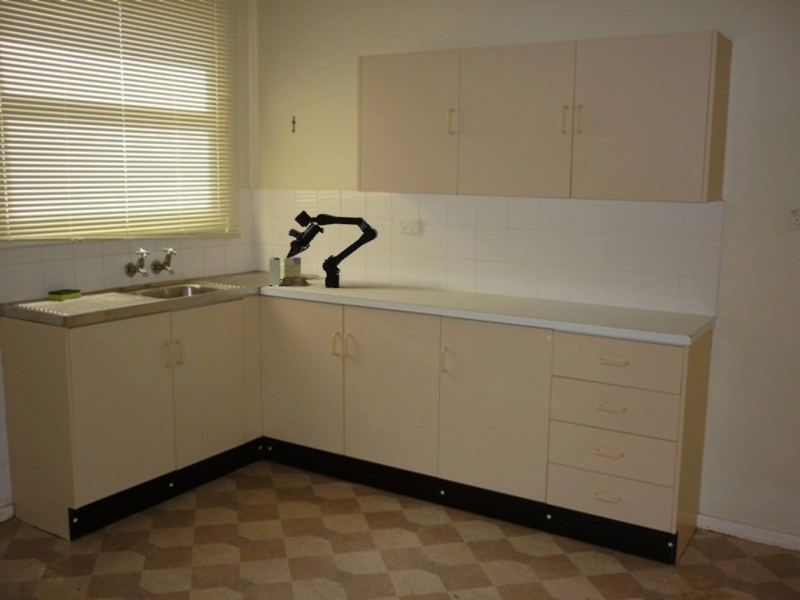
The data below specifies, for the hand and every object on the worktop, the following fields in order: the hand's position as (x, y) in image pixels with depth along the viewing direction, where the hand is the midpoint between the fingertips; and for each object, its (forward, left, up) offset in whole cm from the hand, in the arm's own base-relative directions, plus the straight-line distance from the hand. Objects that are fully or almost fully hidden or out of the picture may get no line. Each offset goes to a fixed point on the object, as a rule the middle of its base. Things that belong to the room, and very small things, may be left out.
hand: (289, 257), depth 400 cm
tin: (+6, +4, -14) cm, 16 cm away
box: (+4, -21, -14) cm, 25 cm away
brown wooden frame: (-2, -3, -14) cm, 14 cm away
